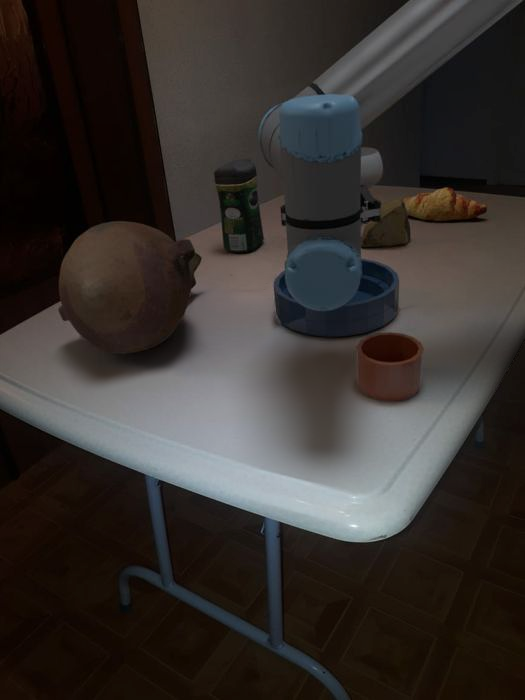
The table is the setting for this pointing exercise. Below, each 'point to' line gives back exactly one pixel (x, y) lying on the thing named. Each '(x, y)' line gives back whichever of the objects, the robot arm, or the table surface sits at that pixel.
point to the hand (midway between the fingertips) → (333, 182)
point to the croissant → (443, 206)
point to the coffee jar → (239, 205)
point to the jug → (126, 285)
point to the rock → (388, 226)
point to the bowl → (350, 319)
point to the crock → (389, 366)
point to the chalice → (370, 167)
